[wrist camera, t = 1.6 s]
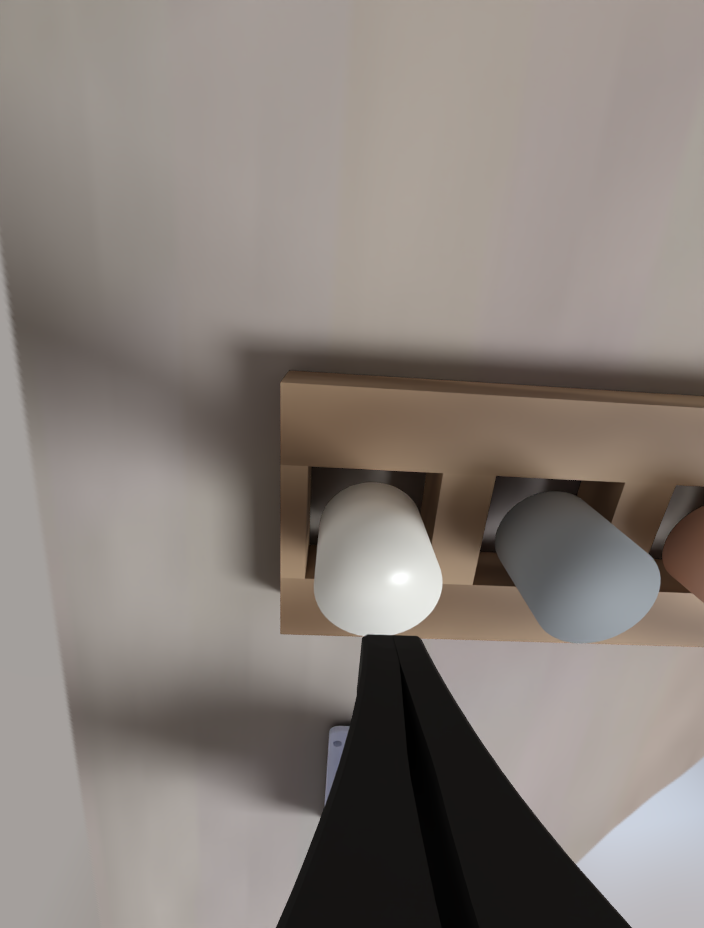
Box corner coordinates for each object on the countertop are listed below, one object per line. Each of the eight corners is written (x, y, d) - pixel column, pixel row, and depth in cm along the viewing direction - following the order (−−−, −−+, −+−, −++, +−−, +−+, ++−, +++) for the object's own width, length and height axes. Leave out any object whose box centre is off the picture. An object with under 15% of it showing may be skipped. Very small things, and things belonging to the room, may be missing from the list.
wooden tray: (693, 610, 21) (737, 648, 19) (287, 595, 20) (280, 634, 18) (793, 401, 17) (865, 418, 15) (289, 370, 16) (280, 382, 14)
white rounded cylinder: (414, 572, 17) (432, 638, 13) (317, 569, 16) (311, 634, 13) (428, 484, 15) (451, 535, 12) (321, 479, 15) (315, 529, 12)
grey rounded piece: (579, 579, 17) (636, 645, 14) (486, 575, 17) (521, 641, 14) (608, 493, 15) (679, 544, 12) (506, 488, 15) (550, 539, 12)
